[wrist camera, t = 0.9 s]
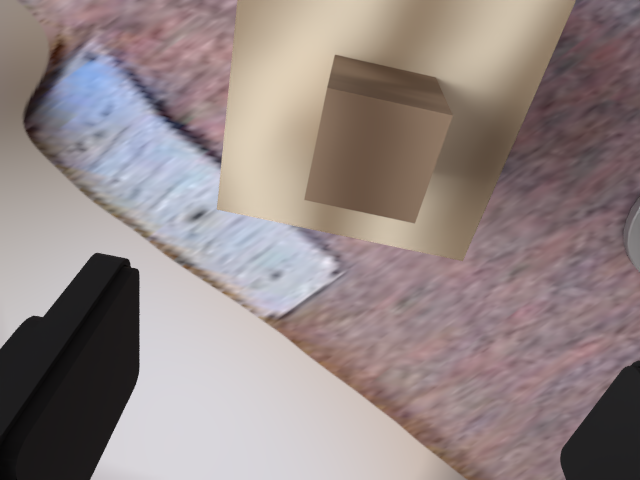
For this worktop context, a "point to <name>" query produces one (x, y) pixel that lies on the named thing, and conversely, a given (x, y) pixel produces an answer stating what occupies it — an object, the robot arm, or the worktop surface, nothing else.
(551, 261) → the worktop surface
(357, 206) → the lid
